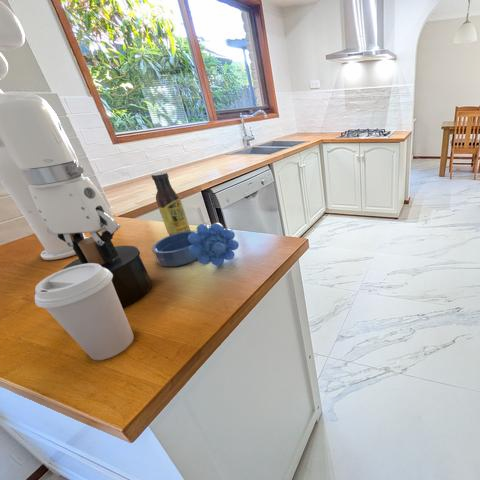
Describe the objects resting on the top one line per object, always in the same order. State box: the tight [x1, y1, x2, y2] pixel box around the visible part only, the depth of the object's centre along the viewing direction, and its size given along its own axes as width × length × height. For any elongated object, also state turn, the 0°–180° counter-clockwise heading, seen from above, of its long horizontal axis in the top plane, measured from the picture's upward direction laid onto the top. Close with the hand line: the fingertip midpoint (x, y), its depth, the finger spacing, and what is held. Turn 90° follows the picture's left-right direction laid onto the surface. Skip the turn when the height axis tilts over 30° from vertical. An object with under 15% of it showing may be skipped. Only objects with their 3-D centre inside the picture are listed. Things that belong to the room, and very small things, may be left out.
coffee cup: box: [34, 263, 135, 361], centre depth 48 cm, size 10×10×15 cm
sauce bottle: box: [150, 171, 191, 236], centre depth 88 cm, size 6×6×20 cm
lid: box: [61, 236, 141, 273], centre depth 60 cm, size 14×14×6 cm
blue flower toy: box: [188, 222, 240, 267], centre depth 71 cm, size 12×7×12 cm, turn 135°
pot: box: [111, 255, 153, 309], centre depth 64 cm, size 13×13×8 cm
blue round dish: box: [151, 230, 199, 268], centre depth 79 cm, size 13×13×4 cm
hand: (100, 258), depth 61 cm, fingers closed on lid, 4 cm apart
